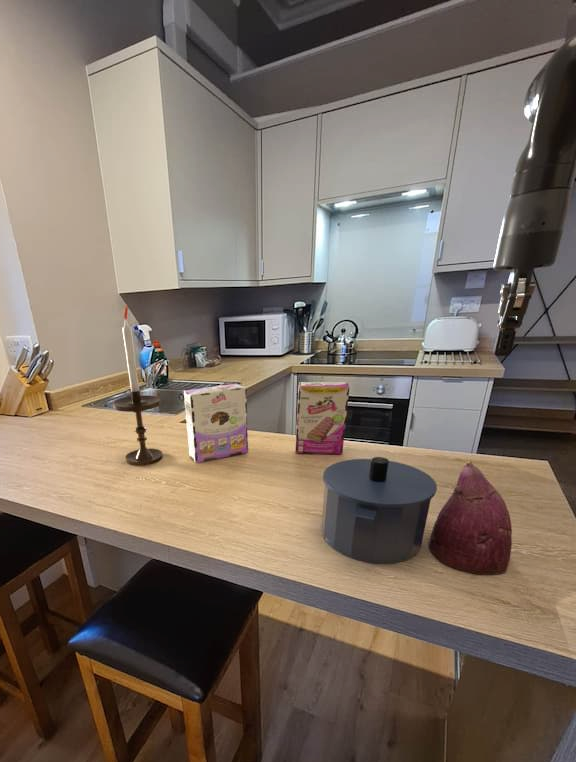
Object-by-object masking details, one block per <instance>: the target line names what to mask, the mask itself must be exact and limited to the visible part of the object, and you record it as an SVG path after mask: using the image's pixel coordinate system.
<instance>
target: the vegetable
mask: <svg viewBox="0 0 576 762" xmlns="http://www.w3.org/2000/svg"><path fill="white" fill-rule="evenodd" d="M455 485H456V486H455V487H454V489H453V490H452V494H451V495H450V496H449V498H448V500H446V503H445V504H444V505H443V506H442V507H441V509H440V511H439V512H438V515H437V517H436V520H435V522H434V525H433V527H432V530H431V533H430V538H429V541H428V549H429V551H430V553H432V554H433V555H434V556H435V558H437V559H438V560H439V561H440V562H441V563H443V564H445V565H446V566H449V567H452V568H454V569H457V570H460V571H463V572H467V573H471V574H476V575H499V574H503V573H506V571H507V569H508V566H509V563H510V560H511V554H512V546H513V541H512V539H513V538H512V536H513V529H512V528H513V527H512V520H511V515H510V512H509V510H508V507H507V504H506V502H505V500H504V498H503V496H502V495H501V494H500V493H499V491H498V490H497V489H496V488H495V486H494V485H492V484H491V482H490V481H489V480H488V479H487V478H486V477H485V475H484V473H482V471H481V469H479V467H477V466H475V465H474V464H473V463H472V461H471V460H469V461H467V462H466V465H464V466H463V467H462V469H461V471H460V473H459V475H458V479H457V482H456V484H455Z"/></svg>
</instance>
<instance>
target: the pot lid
mask: <svg viewBox="0 0 576 762" xmlns="http://www.w3.org/2000/svg"><path fill="white" fill-rule="evenodd" d="M322 482H323V484H324V486H325V485H326V487H327V488H328V489H329V490H331V491H332V492H333V493H335V494H337V495H339V496H341V497H343V498H345V499H348V500H351V501H354V502H357V503H361V504H366V505H372V506H379V507H408V506H414V505H418V504H422V503H424V502H427V501H428V500H430V499H431V500H432V498H434V497H435V495H436V494H437V489H438V485H437V483H436V481H435V479H434V478H433V477H432V476H430V475H429V473H426V472H424V471H423V470H421V469H419V468H417V467H414V466H412V465H408V464H405V463H402V462H398V461H394V460H393V461H391V460H389V459H388V458H386V457H384V456H383V457H382V456H374V457H372V458H354V459H347V460H341V461H338V462H335V463H333V464H331V465H329V466H328V467H326V468H325V470H324V471H323V473H322Z"/></svg>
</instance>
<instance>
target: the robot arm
mask: <svg viewBox="0 0 576 762" xmlns="http://www.w3.org/2000/svg"><path fill="white" fill-rule="evenodd" d="M523 113H524V116H525V119H526V120H527V121H528V122H529V123H531V124H532V125H531V128H530V133H529V137H528V140H527V143H526V145H525V147H524V149H523V151H521V154H520V155H519V158H518V160H517V162H516V166H515V169H514V174H513V179H512V183H511V189H510V193H509V198H508V202H507V205H506V209H505V211H504V214H503V217H502V222H501V227H500V231H499V236H498V241H497V245H496V250H495V255H494V260H493V265H492V269H493V270H494V271H496V272H497V271H498V272H501V271H508V272H509V277H508V280H507V283H502V284H501V288H500V292H499V295H500V299H499V305H498V310H497V314H498V315H499V316H498V319H497V327H496V328H497V331H498V332H497V337H496V341H495V345H494V349H493V355H494V356H496V357H509V356H510V355H511V354H512V351H513V347H514V342H515V338H516V334H517V332H518V331H519V329H520V328H521V326H522V325H523V320H524V317H525V315H527V312H528V308H529V304H530V301H531V299H532V297H533V294H534V293H535V289H536V284H537V282H536V281H532V279H533V274H534V270H535V269H539V268H540V269H541V268H548V267H551V266H553V265H554V264H555V263H556V259H557V256H558V252H559V248H560V245H561V241H562V237H563V234H564V233H563V232H564V230H565V226H566V222H567V217H568V213H569V210H570V203H571V196H572V189H573V186H574V183H575V178H576V34H574V35H573V36H571V37H570V38H569V39H567V41H565V42H564V43H563V44H561V45H560V46H559V47H558V48H557V49H556V50H555V51H554V53H553V54H552V55H551V56H550V58H549V59H548V60H547V61H546V63H545V64H544V65H543V67H542V68H541V69H540V70H539V72H538V73H537V74H536V76H535V77H534V78H533V79H532V81H531V83H530V85H529V86H528V89H527V91H526V93H525V97H524V100H523Z"/></svg>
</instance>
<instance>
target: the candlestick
mask: <svg viewBox="0 0 576 762" xmlns="http://www.w3.org/2000/svg"><path fill="white" fill-rule="evenodd" d="M125 305H126V306H125V308H124V312H123V316H122V317H123V319H124V324H123V327H122V328H121V329H122V336H123V342H124V350H125V357H126V365H127V371H128V378H129V386H130V388H128V389H126V390H125V392H129V393H130V395H131V396H125V397H121V398H118V399H116V400H114V401H113V403H112V406H113V410H115V411H118V412H125V413H126V412H127V413H128V412H130V413H134V414H135V421H136V427H135V428H134V432H135V433H136V434H137V438H136V441H137V442H139V449H135V450H132V451H130V452H128V453H127V454H126V455H125V462H126V464H128V465H131V466H138V467H139V466H150V465H154V464H157V463H158V462H161V460H163V456H164V455H163V452H162V451H161V450H160V449H157V448H147V445H146V441H147V440H148V438H147V436H146V435H145V434H146V432H147V427H146V426H144V424H143V415H142V412H144V411H148V410H153V409H155V408H157V407H160V405H161V404H162V402H161V398H160V397H158V396H155V395H145V394H143V395H141V392H142V391H144V390H145V388H143V387H140V386H139V378H138V377H139V376H138V370H137V362H136V354H135V346H134V338H133V331H132V327H131V326H130V325H129V322H128V320H127V319H128V310H129V307H128V303H126V304H125Z"/></svg>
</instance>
